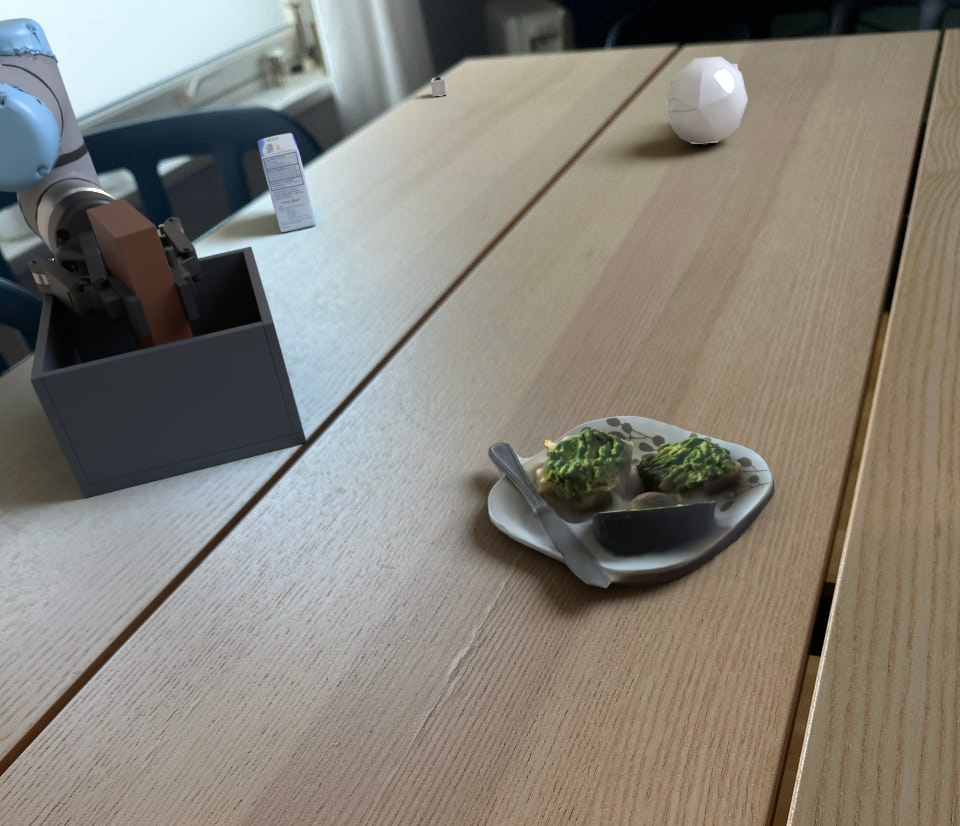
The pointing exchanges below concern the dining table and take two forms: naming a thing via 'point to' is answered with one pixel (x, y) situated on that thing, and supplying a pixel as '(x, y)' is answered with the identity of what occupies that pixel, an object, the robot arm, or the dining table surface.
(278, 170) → the medicine box
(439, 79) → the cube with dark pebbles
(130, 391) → the open storage box
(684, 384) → the dining table surface
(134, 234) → the reddish brown rectangular block
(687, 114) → the white faceted oblong piece
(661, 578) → the salad plate
